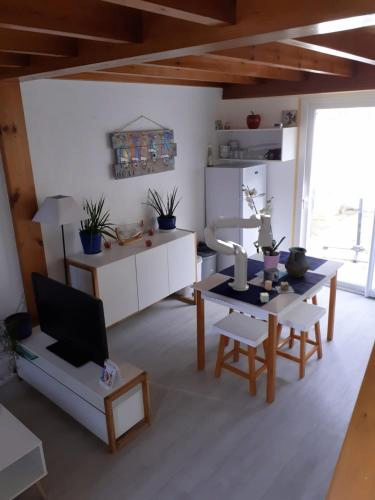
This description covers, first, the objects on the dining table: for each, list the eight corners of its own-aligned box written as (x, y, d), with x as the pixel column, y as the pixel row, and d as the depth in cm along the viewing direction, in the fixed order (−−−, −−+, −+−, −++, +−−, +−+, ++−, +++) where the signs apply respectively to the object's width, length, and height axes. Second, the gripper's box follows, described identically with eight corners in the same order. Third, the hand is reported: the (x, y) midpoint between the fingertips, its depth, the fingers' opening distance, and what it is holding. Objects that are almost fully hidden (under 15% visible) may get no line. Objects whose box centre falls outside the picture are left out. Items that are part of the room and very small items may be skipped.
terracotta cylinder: (265, 290, 315) (265, 283, 313) (264, 287, 320) (264, 280, 318) (272, 290, 315) (272, 282, 313) (270, 287, 320) (271, 280, 318)
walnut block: (281, 290, 312) (282, 284, 311) (280, 288, 317) (280, 282, 315) (288, 290, 312) (288, 284, 311) (286, 287, 317) (287, 281, 315)
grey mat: (278, 293, 309) (278, 292, 309) (275, 287, 320) (275, 286, 320) (294, 292, 309) (294, 292, 309) (290, 286, 321) (290, 285, 320)
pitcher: (313, 274, 342) (315, 246, 334) (303, 283, 326) (304, 253, 318) (289, 269, 354) (291, 242, 346) (279, 277, 337) (280, 249, 329)
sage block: (261, 302, 296) (261, 296, 295) (260, 299, 301) (260, 293, 299) (268, 302, 296) (268, 295, 295) (267, 299, 301) (267, 292, 299)
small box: (266, 284, 327) (267, 271, 323) (263, 281, 333) (263, 268, 329) (278, 282, 329) (279, 270, 326) (274, 279, 335) (275, 267, 332)
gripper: (254, 233, 303) (253, 255, 309) (277, 232, 303) (276, 254, 309) (252, 230, 310) (252, 251, 316) (275, 229, 310) (274, 251, 316)
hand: (264, 252), depth 312 cm, fingers open, 9 cm apart
